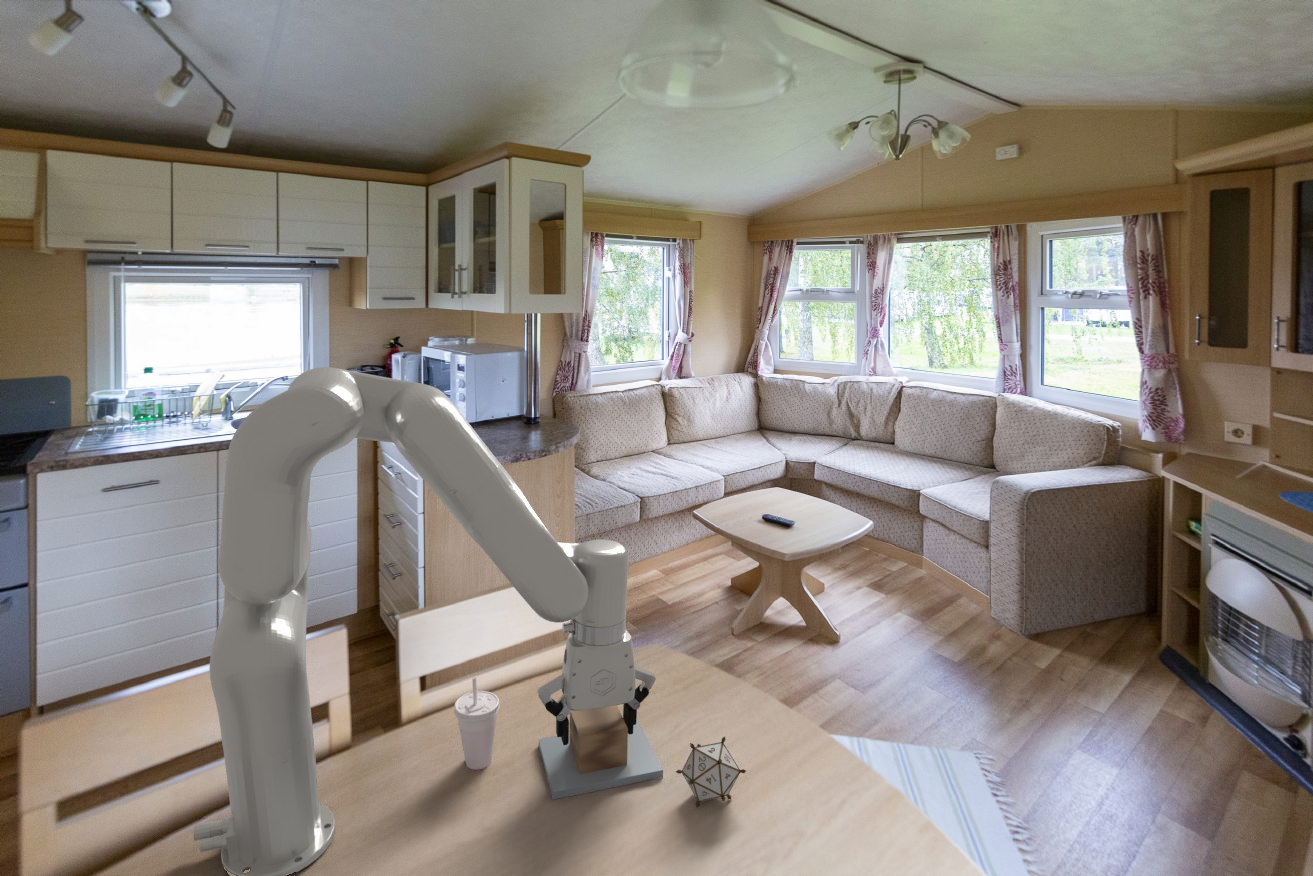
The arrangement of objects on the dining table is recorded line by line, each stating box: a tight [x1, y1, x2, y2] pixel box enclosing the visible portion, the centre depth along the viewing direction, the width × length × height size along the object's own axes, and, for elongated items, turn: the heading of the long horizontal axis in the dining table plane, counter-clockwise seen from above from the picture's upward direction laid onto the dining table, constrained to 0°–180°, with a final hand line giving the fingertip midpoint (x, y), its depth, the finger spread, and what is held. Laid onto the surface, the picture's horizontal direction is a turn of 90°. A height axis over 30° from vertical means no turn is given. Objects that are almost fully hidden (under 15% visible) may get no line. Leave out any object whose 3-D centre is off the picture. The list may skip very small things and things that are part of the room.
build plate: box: [538, 721, 664, 800], centre depth 107 cm, size 16×12×1 cm
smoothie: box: [453, 676, 501, 771], centre depth 105 cm, size 6×6×14 cm
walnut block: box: [569, 705, 628, 774], centre depth 106 cm, size 7×7×6 cm
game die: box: [675, 736, 747, 808], centre depth 100 cm, size 9×8×10 cm
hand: (596, 734), depth 106 cm, fingers open, 9 cm apart
